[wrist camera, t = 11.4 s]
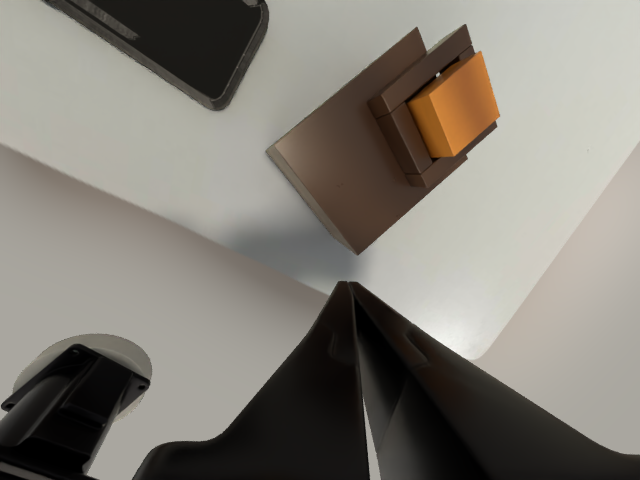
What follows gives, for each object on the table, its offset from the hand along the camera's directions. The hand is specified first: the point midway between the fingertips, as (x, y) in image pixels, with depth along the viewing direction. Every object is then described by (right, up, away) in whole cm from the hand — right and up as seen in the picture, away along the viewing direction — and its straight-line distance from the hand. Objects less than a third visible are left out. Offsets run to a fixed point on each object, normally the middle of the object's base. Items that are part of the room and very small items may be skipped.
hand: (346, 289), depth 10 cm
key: (+7, +11, +6) cm, 14 cm away
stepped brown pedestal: (+2, +10, +11) cm, 15 cm away
